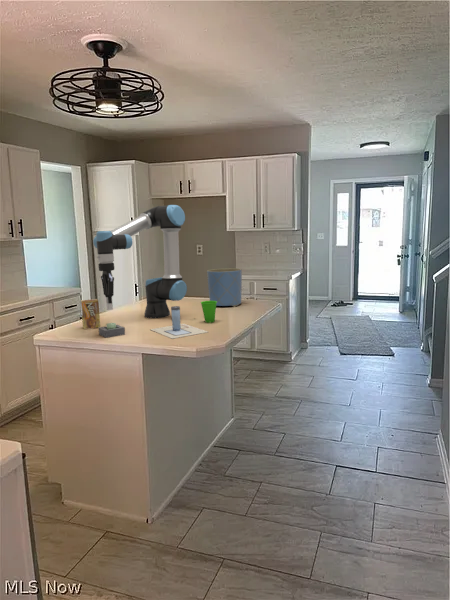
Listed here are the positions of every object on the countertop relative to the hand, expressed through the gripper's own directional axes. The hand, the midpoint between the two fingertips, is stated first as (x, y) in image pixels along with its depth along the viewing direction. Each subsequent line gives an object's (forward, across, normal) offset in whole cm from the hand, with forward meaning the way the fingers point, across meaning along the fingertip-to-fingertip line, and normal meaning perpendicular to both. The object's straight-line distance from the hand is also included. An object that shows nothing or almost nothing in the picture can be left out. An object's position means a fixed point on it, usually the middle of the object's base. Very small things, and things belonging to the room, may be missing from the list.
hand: (109, 309), depth 229 cm
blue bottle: (+12, +16, +29) cm, 35 cm away
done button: (+11, 0, 0) cm, 11 cm away
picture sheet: (+13, +17, +29) cm, 36 cm away
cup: (+13, +8, +53) cm, 55 cm away
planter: (+13, -31, +89) cm, 95 cm away
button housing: (+13, 0, 0) cm, 13 cm away
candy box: (+13, -24, -3) cm, 28 cm away
